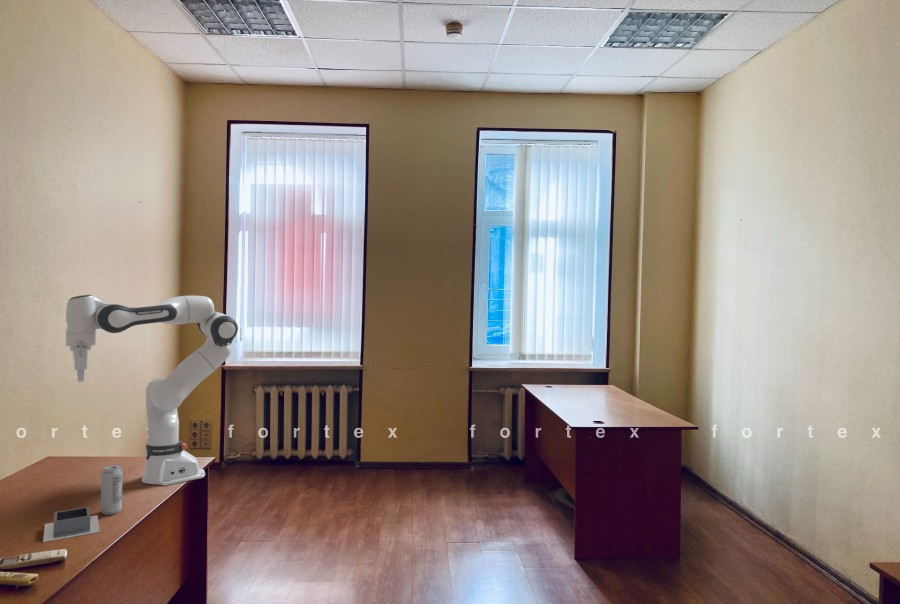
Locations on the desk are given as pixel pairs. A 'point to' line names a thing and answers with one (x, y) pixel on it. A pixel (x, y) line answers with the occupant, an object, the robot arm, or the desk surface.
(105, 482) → the energy drink can
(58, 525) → the socket
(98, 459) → the desk surface
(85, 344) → the robot arm
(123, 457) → the desk surface
